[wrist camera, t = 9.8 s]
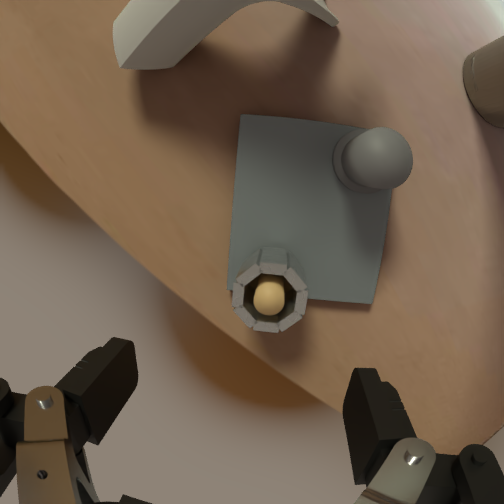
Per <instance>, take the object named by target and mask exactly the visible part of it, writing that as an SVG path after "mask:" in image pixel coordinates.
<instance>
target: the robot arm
mask: <svg viewBox="0 0 504 504" xmlns="http://www.w3.org/2000/svg"><path fill="white" fill-rule="evenodd" d="M463 78H464V84H465V87H466V91H467V93H468V95H469V98H470V100H471V102H472V103H473V105H474V107H475V108H476V110H477V111H478V112H479V114H480V115H481V116H482V117H483V118H484V119H485V120H486V121H488V122H489V123H491V124H492V125H494V126H496V127H500V128H504V36H502V37H500V38H498V39H496V40H494V41H493V42H491V43H489V44H487V45H485V46H483V47H482V48H480V49H478V50H476V51H475V52H473V53H471V54H470V55H469V56H468V57H467V58H466V60H465V62H464V67H463ZM137 383H138V369H137V362H136V354H135V347H134V343H133V342H132V341H129V340H125V339H120V338H116V337H113V338H111V339H110V340H109V341H108V342H107V343H106V344H105V345H104V346H103V347H98V348H96V349H94V350H92V351H90V352H88V353H87V354H86V355H85V356H84V357H83V358H82V360H81V361H79V362H78V363H77V364H76V366H75V367H73V368H72V369H71V370H70V372H68V373H67V374H66V375H65V376H64V377H63V378H62V379H61V380H60V381H59V382H58V383H57V384H56V385H55V386H54V387H51V386H41V387H37V388H35V389H33V390H31V391H30V392H29V393H28V395H26V394H20V393H15V392H11V389H10V387H9V385H8V382H7V381H6V380H4V379H2V378H0V497H1V495H2V494H3V492H4V491H5V489H6V488H7V486H8V485H9V483H10V482H11V480H12V479H13V477H14V476H15V475H16V473H17V485H18V497H19V504H152V503H148V502H145V501H142V500H138V499H136V498H132V497H129V496H127V495H122V497H121V500H120V502H100V500H99V498H98V496H97V494H96V491H95V489H94V486H93V482H92V478H91V474H90V470H89V467H88V462H87V458H86V454H85V449H84V447H83V446H84V444H85V443H86V442H87V441H88V442H91V443H93V444H96V445H99V443H100V442H101V440H102V439H103V437H104V436H105V434H106V433H107V431H108V430H109V428H110V426H111V425H112V423H113V422H114V420H115V419H116V417H117V416H118V414H119V413H120V411H121V410H122V408H123V407H124V405H125V404H126V402H127V401H128V399H129V398H130V396H131V395H132V393H133V391H134V390H135V388H136V386H137ZM343 419H344V425H345V430H346V435H347V441H348V446H349V452H350V458H351V464H352V470H353V475H354V482H355V485H360V484H366V487H367V488H366V489H365V490H364V491H363V492H362V494H361V495H360V496H359V498H358V499H357V500H356V502H355V503H354V504H504V475H503V472H502V470H501V468H500V466H499V464H498V462H497V460H496V458H495V456H494V454H493V452H492V451H490V449H489V448H487V447H485V446H483V445H479V444H471V445H468V446H466V447H465V448H463V450H462V451H461V452H460V454H459V455H447V454H438V453H435V450H434V448H433V447H432V446H431V445H430V444H429V443H428V442H426V441H424V440H422V439H419V438H417V436H416V434H415V432H414V429H413V427H412V424H411V422H410V420H409V417H408V415H407V413H406V410H404V406H403V403H402V402H401V399H400V396H399V394H398V392H397V390H396V389H395V388H394V387H393V386H392V385H391V384H390V383H389V382H381V380H380V377H379V375H378V372H377V370H376V369H375V368H355V369H354V370H353V372H352V376H351V379H350V382H349V386H348V389H347V392H346V395H345V399H344V403H343Z"/></svg>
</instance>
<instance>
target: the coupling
mask: <svg viewBox="0 0 504 504" xmlns="http://www.w3.org/2000/svg"><path fill="white" fill-rule="evenodd" d="M261 273H264V274H274V275H283V276H284V277H285V278H286V279H287V280H288V282H289V283H290V284H291V285H292V289H290V290H289V291H288V292H286V293H285V294H284V306H283V308H282V310H281V311H280V312H279V313H277V314H275V315H264V314H261V313H260V312H258V311H257V309H256V308H255V306H254V296H255V289H254V288H253V287H252V286H251V285H250V284H249V282H250V281H252V280H253V279H254V278H256V277H257V276H258V275H260V274H261ZM307 297H308V287H307V282H306V278H305V274H304V270H303V267H302V265H301V264H300V263H299V262H298V261H297V259H296V258H295V257H294V256H293V254H292V253H291V252H290V251H288V252H286V249H284V248H275V247H266V246H264V247H263V250H262V248H261V247H260V248H259V249H258V250H256V251H255V252H254V253H253V254H251V255H250V256H249V257H248V258H246V259H245V260H244V261H243V263H242V265H241V267H240V269H239V271H238V274H237V276H236V278H235V280H234V283H233V297H232V307H234V309H233V311H234V312H235V313H236V314H237V315H238V316H239V317H240V318H241V320H242V321H243V322H244V323H245V324H246V325H247V326H248V327H249V328H251V327H253V330H256V331H264V332H274V333H278V332H279V329H280V330H281V331H282V332H283V331H284V330H286V329H287V328H289V327H290V326H292V325H293V324H294V323H296V322H297V321H299V320H300V319H302V315H305V309H306V303H307Z"/></svg>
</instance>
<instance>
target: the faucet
mask: <svg viewBox="0 0 504 504" xmlns="http://www.w3.org/2000/svg"><path fill="white" fill-rule="evenodd" d="M263 1H277V2H281V3H284V4H288V5H291V6H294V7H296V8H299V9H301V10H304V11H306V12H308V13H310V14H312V15H314V16H316V17H318V18H320V19H321V20H323V21H325V22H326V23H327V24H329V25H330V26H331V27H334V26H336V25H337V24H338V23H339V21H338V19H337V17H336V16H335V15H334V14H333V13H332V12H330V11H329V10H328V8H327V6H326V4H325V2H324V0H131V1H130V2H129V3H128V4H127V6H126V7H125V8H124V9H123V11H122V12H121V13H120V14H119V16H118V17H117V18H116V20H115V21H114V23H113V43H114V49H115V54H116V57H117V61H118V64H119V67H120V68H124V69H139V70H150V69H164V68H171V67H174V66H175V65H176V64H177V63H178V62H179V61H180V60H181V59H182V58H183V57H184V56H185V55H186V54H187V53H188V52H190V51H191V50H192V49H193V48H194V47H195V46H196V45H197V44H198V43H199V42H200V41H202V40H203V39H204V38H205V37H206V36H207V35H208V34H210V33H211V32H212V31H213V30H214V29H215V28H217V27H218V26H219V25H220V24H221V23H223V22H224V21H225V20H226V19H228V18H229V17H230V16H231V15H233V14H234V13H235V12H236V11H238V10H240V9H241V8H243V7H245V6H248V5H250V4H254V3H258V2H263Z"/></svg>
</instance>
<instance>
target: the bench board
mask: <svg viewBox="0 0 504 504" xmlns="http://www.w3.org/2000/svg"><path fill="white" fill-rule="evenodd" d="M412 165H413V157H412V151H411V148H410V146H409V144H408V142H407V141H406V140H405V138H404V137H403V136H402V135H401V134H400V133H398V132H397V131H395V130H393V129H391V128H387V127H376V128H373V129H365V128H359V127H353V126H347V125H341V124H335V123H328V122H320V121H313V120H305V119H296V118H286V117H275V116H263V115H248V114H241V116H240V126H239V137H238V148H237V160H236V172H235V184H234V196H233V209H232V222H231V235H230V249H229V263H228V278H227V290H233V283H234V280H235V278H236V276H237V274H238V271H239V269H240V267H241V265H242V263H243V261H244V260H245V259H246V258H248V257H249V256H250V255H251V254H253V253H254V252H255V251H256V250H258V249H259V248H260V247H261V248H262V250H263V247H264V246H266V247H275V248H284V249H286V252H288V251H290V252H291V253H292V254H293V256H294V257H295V258H296V259H297V261H298V262H299V263H300V264H301V265H302V267H303V270H304V274H305V278H306V282H307V287H308V297H307V298H308V299H319V300H330V301H341V302H353V303H366V304H372V302H373V298H374V294H375V289H376V284H377V279H378V274H379V269H380V264H381V259H382V253H383V247H384V241H385V235H386V229H387V222H388V215H389V208H390V200H391V192H392V189H393V188H396V187H398V186H400V185H401V184H403V183H404V182H405V181H406V179H407V178H408V177H409V175H410V173H411V170H412ZM249 284H250V285H251V286H252V287H253V288H254V289H255V296H254V306H255V308H256V309H257V311H258V312H260V313H261V314H264V315H275V314H277V313H279V312H280V311H281V310H282V308H283V306H284V294H285V293H286V292H288V291H289V290H290V289H292V285H291V284H290V283H289V282H288V280H287V279H286V278H285V277H284V276H283V275H274V274H264V273H261V274H260V275H258V276H257V277H256V278H254V279H253V280H252V281H250V282H249Z"/></svg>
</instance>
